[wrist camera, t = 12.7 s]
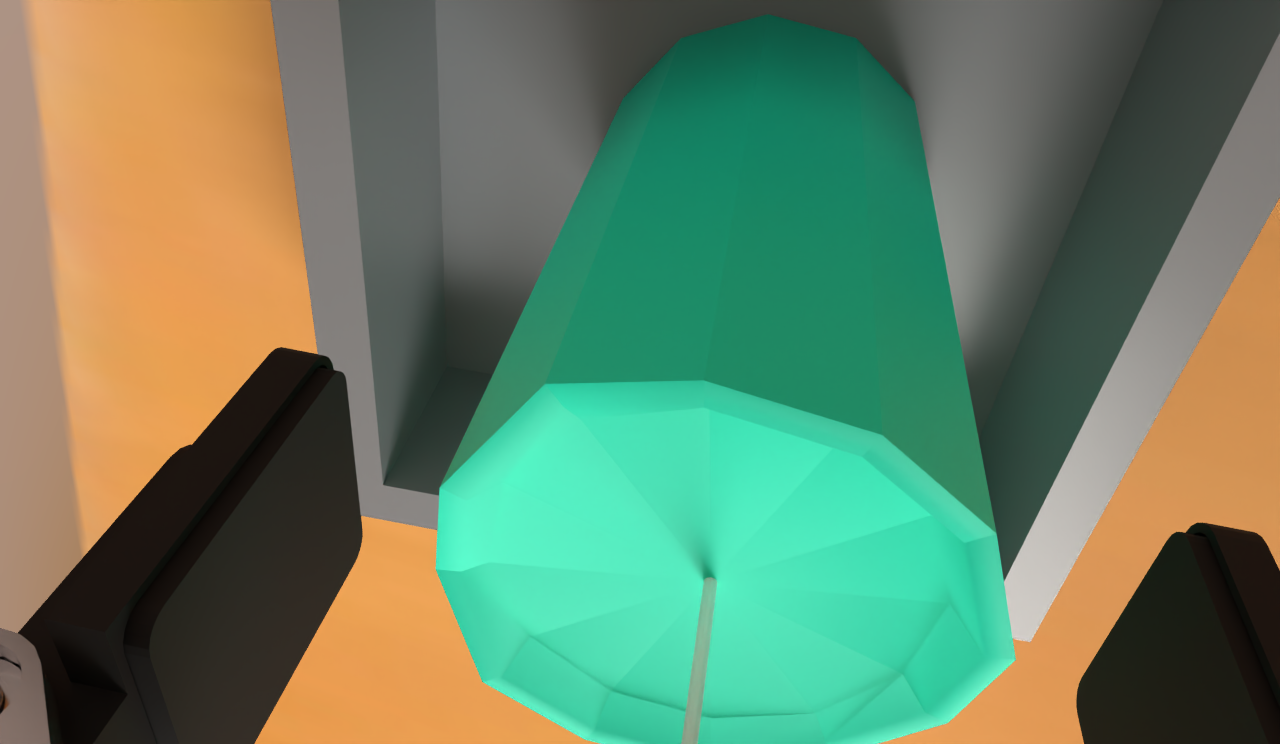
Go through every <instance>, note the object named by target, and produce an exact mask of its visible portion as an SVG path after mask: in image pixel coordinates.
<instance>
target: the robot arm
mask: <svg viewBox="0 0 1280 744" xmlns="http://www.w3.org/2000/svg"><path fill="white" fill-rule="evenodd" d="M361 543H362V522H361V513H360V503H359V494H358V484H357V475H356V466H355V456H354V447H353V437H352V428H351V419H350V409H349V400H348V390H347V382H346V377H345V375H344V373H343V372H341V371H336V370H334V368H333V364H332V362H331V360H330V358H329V357H327V356H324V355H319V354H314V353H308V352H303V351H298V350H293V349H287V348H282V347H280V348H277V349H275V350H274V351H272V352H271V353H270V354H269V355H268V356H267V358H266V359H265V360H264V361H263V362H262V363H261V365H260V366H259V367H258V368H257V369H256V370H255V372H254V373H253V374H252V375H251V376H250V378H249V379H248V380H247V381H246V382H245V383H244V385H243V386H242V387H241V388H240V389H239V390H238V392H237V393H236V394H235V395H234V396H233V397H232V399H231V400H230V401H229V402H228V403H227V404H226V406H225V407H224V408H223V409H222V410H221V412H220V413H219V414H218V415H217V416H216V417H215V419H214V420H213V421H212V422H211V423H210V424H209V426H208V427H207V428H206V429H205V430H204V431H203V433H202V434H201V435H200V436H199V437H198V438H197V440H196V441H195V442H194V443H193V444H192V445H188V446H185V447H183V448H180V449H179V450H178V451H177V452H176V453H175V454H173V455H172V456H171V457H170V458H169V459H168V460H167V462H166V463H165V464H164V465H163V466H162V467H161V468H160V470H159V471H158V472H157V473H156V474H155V475H154V477H153V478H152V479H151V480H150V481H149V482H148V483H147V485H146V486H145V487H144V488H143V489H142V490H141V492H140V493H139V494H138V495H137V496H136V497H135V498H134V500H133V501H132V502H131V503H130V504H129V505H128V507H127V508H126V509H125V510H124V511H123V512H122V513H121V515H120V516H119V517H118V518H117V519H116V520H115V522H114V523H113V524H112V525H111V526H110V527H109V528H108V530H107V531H106V532H105V533H104V534H103V535H102V536H101V538H100V539H99V540H98V541H97V542H96V543H95V545H94V546H93V547H92V548H91V549H90V550H89V551H88V553H87V554H86V555H85V556H84V557H83V558H82V560H81V561H80V562H79V563H78V564H77V565H76V566H75V568H74V569H73V570H72V571H71V572H70V573H69V575H68V576H67V577H66V578H65V579H64V580H63V581H62V583H61V584H60V585H59V586H58V587H57V588H56V590H55V591H54V592H53V593H52V594H51V595H50V596H49V598H48V599H47V600H46V601H45V602H44V603H43V605H42V606H41V607H40V608H39V609H38V610H37V611H36V613H35V614H34V615H33V616H32V617H31V618H30V619H29V621H28V622H27V623H26V624H25V625H24V627H23V628H22V629H21V630H20V631H19V632H18V633H15V632H11V631H8V630H5V629H2V628H0V744H254V743H255V741H256V739H257V738H258V736H259V734H260V732H261V731H262V729H263V727H264V725H265V723H266V722H267V720H268V718H269V716H270V714H271V713H272V711H273V709H274V707H275V705H276V704H277V702H278V700H279V698H280V696H281V695H282V693H283V691H284V689H285V687H286V686H287V684H288V682H289V680H290V678H291V677H292V675H293V673H294V671H295V669H296V668H297V666H298V664H299V662H300V660H301V659H302V657H303V655H304V653H305V651H306V650H307V648H308V646H309V644H310V642H311V641H312V639H313V637H314V635H315V633H316V632H317V630H318V628H319V626H320V624H321V623H322V621H323V619H324V617H325V615H326V614H327V612H328V610H329V608H330V606H331V605H332V603H333V601H334V599H335V597H336V596H337V594H338V592H339V590H340V588H341V587H342V585H343V583H344V581H345V579H346V578H347V576H348V574H349V572H350V570H351V569H352V567H353V565H354V563H355V561H356V559H357V557H358V554H359V551H360V547H361ZM1077 713H1078V718H1079V722H1080V727H1081V731H1082V736H1083V740H1084V744H1280V570H1279V568H1278V566H1277V564H1276V562H1275V560H1274V558H1273V556H1272V554H1271V552H1270V550H1269V548H1268V546H1267V544H1266V542H1265V541H1264V539H1263V538H1262V537H1261V536H1260V535H1258V534H1257V533H1255V532H1250V531H1244V530H1239V529H1234V528H1229V527H1223V526H1218V525H1213V524H1208V523H1196V524H1194V525H1192V526H1191V527H1190V528H1189V529H1188V530H1187V532H1186V533H1183V532H1176V533H1174V534H1172V535H1171V536H1170V538H1169V539H1168V540H1167V542H1166V543H1165V545H1164V546H1163V548H1162V550H1161V551H1160V553H1159V554H1158V556H1157V558H1156V559H1155V561H1154V562H1153V564H1152V566H1151V567H1150V569H1149V571H1148V572H1147V574H1146V575H1145V577H1144V579H1143V580H1142V582H1141V583H1140V585H1139V587H1138V588H1137V590H1136V591H1135V593H1134V595H1133V596H1132V598H1131V599H1130V601H1129V603H1128V604H1127V606H1126V607H1125V609H1124V611H1123V612H1122V614H1121V616H1120V617H1119V619H1118V620H1117V622H1116V624H1115V625H1114V627H1113V628H1112V630H1111V632H1110V633H1109V635H1108V636H1107V638H1106V640H1105V641H1104V643H1103V644H1102V646H1101V648H1100V649H1099V651H1098V652H1097V654H1096V656H1095V657H1094V659H1093V661H1092V662H1091V664H1090V665H1089V667H1088V669H1087V670H1086V672H1085V673H1084V675H1083V677H1082V679H1081V681H1080V683H1079V687H1078V691H1077Z"/></svg>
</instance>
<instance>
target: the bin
mask: <svg viewBox="0 0 1280 744" xmlns="http://www.w3.org/2000/svg"><path fill="white" fill-rule="evenodd" d="M270 1H271V8H272V16H273V23H274V31H275V38H276V46H277V53H278V61H279V68H280V76H281V83H282V90H283V98H284V105H285V113H286V120H287V128H288V135H289V143H290V150H291V157H292V165H293V172H294V180H295V187H296V195H297V202H298V210H299V217H300V225H301V232H302V239H303V247H304V254H305V262H306V269H307V277H308V284H309V292H310V299H311V306H312V314H313V321H314V329H315V336H316V344H317V351H318V354H319V355H324V356H327V357H329V358H330V360H331V362H332V364H333V368H334V370H336V371H341V372H343V373H344V375H345V377H346V382H347V390H348V400H349V409H350V419H351V428H352V437H353V447H354V456H355V466H356V475H357V484H358V494H359V503H360V513H361V516H366V517H371V518H376V519H382V520H387V521H392V522H398V523H403V524H408V525H414V526H419V527H424V528H429V529H435V530H438V509H439V488H440V486H441V484H442V481H443V479H444V477H445V475H446V473H447V471H448V469H449V467H450V464H451V462H452V460H453V458H454V456H455V454H456V452H457V450H458V447H459V445H460V443H461V441H462V439H463V437H464V435H465V433H466V431H467V428H468V426H469V424H470V422H471V420H472V418H473V416H474V414H475V411H476V409H477V407H478V405H479V403H480V401H481V399H482V397H483V394H484V392H485V390H486V388H487V386H488V384H489V382H490V380H491V378H492V375H493V373H494V371H495V369H496V367H497V365H498V363H499V361H500V358H501V356H502V354H503V352H504V350H505V348H506V346H507V344H508V341H509V339H510V337H511V335H512V333H513V331H514V329H515V327H516V324H517V322H518V320H519V318H520V316H521V314H522V312H523V310H524V308H525V305H526V303H527V301H528V299H529V297H530V295H531V293H532V291H533V288H534V286H535V284H536V282H537V280H538V278H539V276H540V274H541V271H542V269H543V267H544V265H545V263H546V261H547V259H548V257H549V255H550V252H551V250H552V248H553V246H554V244H555V242H556V240H557V238H558V235H559V233H560V231H561V229H562V227H563V225H564V223H565V221H566V218H567V216H568V214H569V212H570V210H571V208H572V206H573V204H574V201H575V199H576V197H577V195H578V193H579V191H580V189H581V187H582V185H583V182H584V180H585V178H586V176H587V174H588V172H589V170H590V168H591V165H592V163H593V161H594V159H595V157H596V155H597V153H598V151H599V148H600V146H601V144H602V142H603V140H604V138H605V136H606V134H607V132H608V129H609V127H610V125H611V123H612V121H613V119H614V117H615V115H616V112H617V110H618V108H619V106H620V104H621V102H622V100H623V98H624V97H625V96H626V95H627V94H628V93H629V92H630V91H631V90H632V89H633V88H634V86H635V85H636V84H637V83H638V82H639V81H640V80H641V79H642V78H643V77H644V76H645V75H646V74H647V73H648V72H649V71H650V70H651V69H652V68H653V67H654V66H655V65H656V64H657V63H658V61H659V60H660V59H661V58H662V57H663V56H664V55H665V54H666V53H667V52H668V51H669V50H670V49H671V48H672V47H673V46H674V45H675V44H676V43H677V42H678V41H679V40H680V39H681V38H683V37H686V36H690V35H693V34H697V33H701V32H704V31H708V30H712V29H715V28H719V27H723V26H726V25H730V24H734V23H737V22H741V21H745V20H748V19H752V18H756V17H759V16H763V15H767V14H770V15H773V16H777V17H781V18H784V19H788V20H792V21H795V22H799V23H803V24H806V25H810V26H814V27H818V28H821V29H825V30H829V31H832V32H836V33H840V34H843V35H847V36H851V37H854V38H857V39H858V41H859V42H860V43H861V44H862V45H863V46H864V47H865V48H866V49H867V50H868V51H869V52H870V54H871V55H872V56H873V57H874V58H875V59H876V60H877V61H878V62H879V63H880V64H881V65H882V66H883V68H884V69H885V70H886V71H887V72H888V73H889V74H890V75H891V76H892V77H893V78H894V79H895V81H896V82H897V83H898V84H899V85H900V86H901V87H902V88H903V89H904V90H905V91H906V92H907V94H908V95H909V96H910V97H911V98H912V99H913V100H914V101H915V105H916V110H917V115H918V121H919V126H920V131H921V137H922V142H923V147H924V152H925V158H926V163H927V168H928V174H929V179H930V184H931V189H932V195H933V200H934V205H935V211H936V216H937V221H938V226H939V232H940V237H941V242H942V248H943V253H944V258H945V263H946V269H947V274H948V279H949V285H950V290H951V295H952V300H953V306H954V311H955V316H956V322H957V327H958V332H959V337H960V343H961V348H962V353H963V359H964V364H965V369H966V374H967V380H968V385H969V390H970V396H971V401H972V406H973V411H974V417H975V422H976V427H977V433H978V438H979V443H980V448H981V454H982V459H983V464H984V470H985V475H986V480H987V485H988V491H989V496H990V501H991V507H992V512H993V517H994V522H995V528H996V533H997V539H998V546H999V553H1000V559H1001V566H1002V572H1003V579H1004V585H1005V592H1006V599H1007V605H1008V612H1009V618H1010V625H1011V631H1012V638H1013V639H1017V640H1022V641H1028V642H1031V640H1032V638H1033V636H1034V635H1035V633H1036V631H1037V629H1038V627H1039V626H1040V624H1041V622H1042V620H1043V619H1044V617H1045V615H1046V613H1047V611H1048V610H1049V608H1050V606H1051V604H1052V603H1053V601H1054V599H1055V597H1056V595H1057V594H1058V592H1059V590H1060V588H1061V586H1062V585H1063V583H1064V581H1065V579H1066V578H1067V576H1068V574H1069V572H1070V570H1071V569H1072V567H1073V565H1074V563H1075V561H1076V560H1077V558H1078V556H1079V554H1080V553H1081V551H1082V549H1083V547H1084V545H1085V544H1086V542H1087V540H1088V538H1089V537H1090V535H1091V533H1092V531H1093V529H1094V528H1095V526H1096V524H1097V522H1098V520H1099V519H1100V517H1101V515H1102V513H1103V512H1104V510H1105V508H1106V506H1107V504H1108V503H1109V501H1110V499H1111V497H1112V495H1113V494H1114V492H1115V490H1116V488H1117V487H1118V485H1119V483H1120V481H1121V479H1122V478H1123V476H1124V474H1125V472H1126V471H1127V469H1128V467H1129V465H1130V463H1131V462H1132V460H1133V458H1134V456H1135V454H1136V453H1137V451H1138V449H1139V447H1140V446H1141V444H1142V442H1143V440H1144V438H1145V437H1146V435H1147V433H1148V431H1149V430H1150V428H1151V426H1152V424H1153V422H1154V421H1155V419H1156V417H1157V415H1158V413H1159V412H1160V410H1161V408H1162V406H1163V405H1164V403H1165V401H1166V399H1167V397H1168V396H1169V394H1170V392H1171V390H1172V388H1173V387H1174V385H1175V383H1176V381H1177V380H1178V378H1179V376H1180V374H1181V372H1182V371H1183V369H1184V367H1185V365H1186V364H1187V362H1188V360H1189V358H1190V356H1191V355H1192V353H1193V351H1194V349H1195V347H1196V346H1197V344H1198V342H1199V340H1200V339H1201V337H1202V335H1203V333H1204V331H1205V330H1206V328H1207V326H1208V324H1209V322H1210V321H1211V319H1212V317H1213V315H1214V314H1215V312H1216V310H1217V308H1218V306H1219V305H1220V303H1221V301H1222V299H1223V298H1224V296H1225V294H1226V292H1227V290H1228V289H1229V287H1230V285H1231V283H1232V281H1233V280H1234V278H1235V276H1236V274H1237V273H1238V271H1239V269H1240V267H1241V265H1242V264H1243V262H1244V260H1245V258H1246V256H1247V255H1248V253H1249V251H1250V249H1251V248H1252V246H1253V244H1254V242H1255V240H1256V239H1257V237H1258V235H1259V233H1260V232H1261V230H1262V228H1263V226H1264V224H1265V223H1266V221H1267V219H1268V217H1269V215H1270V214H1271V212H1272V210H1273V208H1274V207H1275V205H1276V203H1277V201H1278V199H1279V198H1280V0H270Z"/></svg>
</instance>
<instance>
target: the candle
mask: <svg viewBox="0 0 1280 744" xmlns="http://www.w3.org/2000/svg"><path fill="white" fill-rule="evenodd" d="M436 571H437V574H438V576H439V578H440V581H441V583H442V586H443V588H444V590H445V593H446V595H447V598H448V600H449V603H450V605H451V607H452V610H453V612H454V615H455V617H456V619H457V622H458V624H459V627H460V629H461V631H462V634H463V636H464V639H465V641H466V644H467V646H468V648H469V651H470V653H471V656H472V658H473V660H474V663H475V665H476V668H477V670H478V672H479V675H480V677H481V680H482V682H483V683H485V684H487V685H489V686H491V687H492V688H494V689H496V690H498V691H499V692H501V693H503V694H505V695H507V696H508V697H510V698H512V699H514V700H515V701H517V702H519V703H521V704H523V705H524V706H526V707H528V708H530V709H531V710H533V711H535V712H537V713H539V714H540V715H542V716H544V717H546V718H547V719H549V720H551V721H553V722H555V723H556V724H558V725H560V726H562V727H563V728H565V729H567V730H569V731H571V732H572V733H574V734H576V735H578V736H579V737H581V738H583V739H585V740H588V741H593V742H597V743H601V744H878V743H882V742H885V741H889V740H892V739H895V738H899V737H902V736H906V735H909V734H912V733H916V732H919V731H923V730H926V729H929V728H933V727H936V726H940V725H943V724H947V723H948V722H949V721H951V720H952V719H953V718H954V717H955V716H956V715H957V714H958V713H959V712H960V711H961V710H962V709H963V708H965V707H966V706H967V705H968V704H969V703H970V702H971V701H972V700H973V699H974V698H975V697H976V696H977V695H979V694H980V693H981V692H982V691H983V690H984V689H985V688H986V687H987V686H988V685H989V684H990V683H991V682H992V681H994V680H995V679H996V678H997V677H998V676H999V675H1000V674H1001V673H1002V672H1003V671H1004V670H1005V669H1006V668H1008V667H1009V666H1010V665H1011V664H1012V663H1013V662H1014V661H1015V660H1016V658H1015V651H1014V645H1013V638H1012V631H1011V625H1010V618H1009V612H1008V605H1007V599H1006V592H1005V585H1004V579H1003V572H1002V566H1001V559H1000V553H999V546H998V539H997V533H996V528H995V522H994V517H993V512H992V507H991V501H990V496H989V491H988V485H987V480H986V475H985V470H984V464H983V459H982V454H981V448H980V443H979V438H978V433H977V427H976V422H975V417H974V411H973V406H972V401H971V396H970V390H969V385H968V380H967V374H966V369H965V364H964V359H963V353H962V348H961V343H960V337H959V332H958V327H957V322H956V316H955V311H954V306H953V300H952V295H951V290H950V285H949V279H948V274H947V269H946V263H945V258H944V253H943V248H942V242H941V237H940V232H939V226H938V221H937V216H936V211H935V205H934V200H933V195H932V189H931V184H930V179H929V174H928V168H927V163H926V158H925V152H924V147H923V142H922V137H921V131H920V126H919V121H918V115H917V110H916V105H915V101H914V100H913V99H912V98H911V97H910V96H909V95H908V94H907V92H906V91H905V90H904V89H903V88H902V87H901V86H900V85H899V84H898V83H897V82H896V81H895V79H894V78H893V77H892V76H891V75H890V74H889V73H888V72H887V71H886V70H885V69H884V68H883V66H882V65H881V64H880V63H879V62H878V61H877V60H876V59H875V58H874V57H873V56H872V55H871V54H870V52H869V51H868V50H867V49H866V48H865V47H864V46H863V45H862V44H861V43H860V42H859V41H858V39H857V38H854V37H851V36H847V35H843V34H840V33H836V32H832V31H829V30H825V29H821V28H818V27H814V26H810V25H806V24H803V23H799V22H795V21H792V20H788V19H784V18H781V17H777V16H773V15H770V14H767V15H763V16H759V17H756V18H752V19H748V20H745V21H741V22H737V23H734V24H730V25H726V26H723V27H719V28H715V29H712V30H708V31H704V32H701V33H697V34H693V35H690V36H686V37H683V38H681V39H680V40H679V41H678V42H677V43H676V44H675V45H674V46H673V47H672V48H671V49H670V50H669V51H668V52H667V53H666V54H665V55H664V56H663V57H662V58H661V59H660V60H659V61H658V63H657V64H656V65H655V66H654V67H653V68H652V69H651V70H650V71H649V72H648V73H647V74H646V75H645V76H644V77H643V78H642V79H641V80H640V81H639V82H638V83H637V84H636V85H635V86H634V88H633V89H632V90H631V91H630V92H629V93H628V94H627V95H626V96H625V97H624V98H623V100H622V102H621V104H620V106H619V108H618V110H617V112H616V115H615V117H614V119H613V121H612V123H611V125H610V127H609V129H608V132H607V134H606V136H605V138H604V140H603V142H602V144H601V146H600V148H599V151H598V153H597V155H596V157H595V159H594V161H593V163H592V165H591V168H590V170H589V172H588V174H587V176H586V178H585V180H584V182H583V185H582V187H581V189H580V191H579V193H578V195H577V197H576V199H575V201H574V204H573V206H572V208H571V210H570V212H569V214H568V216H567V218H566V221H565V223H564V225H563V227H562V229H561V231H560V233H559V235H558V238H557V240H556V242H555V244H554V246H553V248H552V250H551V252H550V255H549V257H548V259H547V261H546V263H545V265H544V267H543V269H542V271H541V274H540V276H539V278H538V280H537V282H536V284H535V286H534V288H533V291H532V293H531V295H530V297H529V299H528V301H527V303H526V305H525V308H524V310H523V312H522V314H521V316H520V318H519V320H518V322H517V324H516V327H515V329H514V331H513V333H512V335H511V337H510V339H509V341H508V344H507V346H506V348H505V350H504V352H503V354H502V356H501V358H500V361H499V363H498V365H497V367H496V369H495V371H494V373H493V375H492V378H491V380H490V382H489V384H488V386H487V388H486V390H485V392H484V394H483V397H482V399H481V401H480V403H479V405H478V407H477V409H476V411H475V414H474V416H473V418H472V420H471V422H470V424H469V426H468V428H467V431H466V433H465V435H464V437H463V439H462V441H461V443H460V445H459V447H458V450H457V452H456V454H455V456H454V458H453V460H452V462H451V464H450V467H449V469H448V471H447V473H446V475H445V477H444V479H443V481H442V484H441V486H440V488H439V509H438V531H437V552H436Z"/></svg>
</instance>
